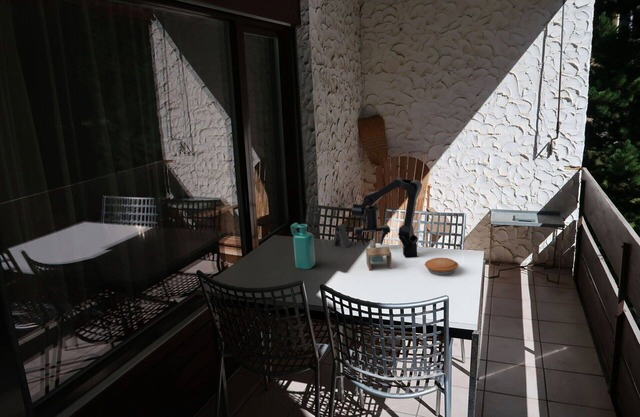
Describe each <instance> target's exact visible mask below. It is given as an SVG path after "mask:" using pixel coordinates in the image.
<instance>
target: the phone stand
mask: <svg viewBox="0 0 640 417" xmlns="http://www.w3.org/2000/svg"><path fill="white" fill-rule="evenodd" d="M334 228H335V229H334V230H335V234H334V237H333V241H332V244H331V247H332V248H333V247H334V248H340V249H347V248H348V247H351V245H352V244H351V243H352V242H351V241H350V237H349V235H348V232H347V228H346V224H344V223H341V224H339V225H337V226H336V227H334Z"/></svg>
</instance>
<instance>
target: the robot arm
mask: <svg viewBox="0 0 640 417" xmlns="http://www.w3.org/2000/svg"><path fill="white" fill-rule="evenodd" d="M398 188H399V189H401V190H403V191H406V196H407V200H406V201H407V203H406V209H405V215H404V221H403V224H402V225H401V226H400V227H398V233H397V236H398V240H400V242H401V244H402V255H403V256H404V257H405V258H418V257H419V256H418V244H417V242H418V241H419V238H418V237H417V235H415V233H414V232H415V229H414V226H413V224H414V219H415V212H416V206H417V200H418V197H419V195H420V193H421V190H422V188H423V184H422V182H421V181H420V180H418V179H414V180H412V179H409V178H406V179H405V178H402V177H398V178H395V179H394V180H393V181H392V182H390V183H389V184H386V185H385V186H384V187H382V188H381V189H379V190H375V191H373V192H370V193H368V194H367V195H365V196H364V197H363V201H362V203H356V202H355V203H353V204H352V207H351V211H350V212H351V215H352V216H353V217H361V218H362V217H365V219H364V218H363V219H362V220H361V221H362V222H361V223H362V226H365V228H362V226H356V227H354V228H353V233H354V235H355V236H357V237H359V238H360V240H361V243H362V246H363V247H365V240H364V239H365V238H364V235H363V233H372V232H374V233H375V232H380V245H381V246H382V245H383V243H384V239H385V237H386V235H389V233H391V227H390V226H389V225H388V224H382V225H381V226H380V227H378V215H377V211H379V210H380V209H381V206H380V205H378V204H376V203H378V201H379V200H380V199H381V198H382V197H384V196H385V195H387V194H390V193H391V192H392V191H393V190H395V189H398ZM375 204H376V205H375Z"/></svg>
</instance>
